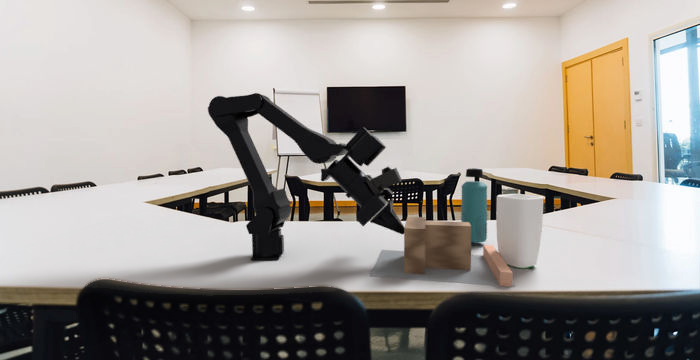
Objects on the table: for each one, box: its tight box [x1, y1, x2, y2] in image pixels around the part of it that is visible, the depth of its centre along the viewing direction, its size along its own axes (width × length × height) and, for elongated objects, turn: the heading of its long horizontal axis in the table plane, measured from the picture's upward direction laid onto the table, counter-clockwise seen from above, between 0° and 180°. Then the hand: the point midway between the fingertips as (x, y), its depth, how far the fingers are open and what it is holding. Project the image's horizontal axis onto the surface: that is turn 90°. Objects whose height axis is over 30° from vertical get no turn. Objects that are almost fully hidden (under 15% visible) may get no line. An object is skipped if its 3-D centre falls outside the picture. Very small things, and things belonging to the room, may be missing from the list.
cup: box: [495, 193, 544, 269], centre depth 71 cm, size 7×7×15 cm
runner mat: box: [369, 244, 516, 288], centre depth 71 cm, size 26×18×3 cm
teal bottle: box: [460, 167, 489, 243], centre depth 87 cm, size 6×7×20 cm
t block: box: [403, 216, 472, 274], centre depth 70 cm, size 13×12×9 cm
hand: (404, 232), depth 72 cm, fingers closed
